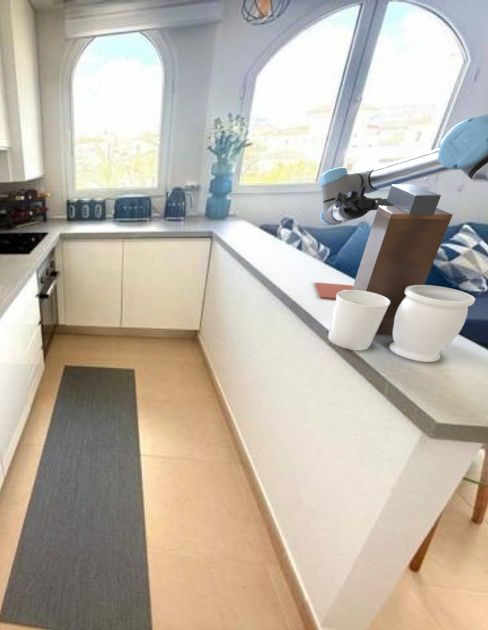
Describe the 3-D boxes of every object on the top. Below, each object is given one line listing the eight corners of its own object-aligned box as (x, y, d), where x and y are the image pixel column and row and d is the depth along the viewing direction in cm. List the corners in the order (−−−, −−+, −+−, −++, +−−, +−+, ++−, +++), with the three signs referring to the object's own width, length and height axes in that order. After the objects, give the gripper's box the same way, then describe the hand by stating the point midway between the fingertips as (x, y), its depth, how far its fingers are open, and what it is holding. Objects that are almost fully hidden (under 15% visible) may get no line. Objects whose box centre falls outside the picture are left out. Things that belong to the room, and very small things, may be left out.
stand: (389, 318, 94) (432, 205, 81) (402, 337, 85) (453, 214, 72) (344, 313, 98) (378, 205, 85) (352, 331, 90) (391, 213, 77)
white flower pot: (382, 353, 80) (400, 306, 75) (334, 350, 82) (348, 305, 77) (361, 333, 88) (375, 290, 83) (317, 331, 91) (329, 289, 86)
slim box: (406, 200, 89) (412, 184, 87) (433, 214, 73) (441, 195, 71) (386, 200, 90) (391, 184, 89) (408, 214, 75) (415, 195, 73)
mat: (351, 287, 115) (351, 285, 114) (360, 302, 104) (360, 300, 104) (315, 284, 119) (315, 282, 119) (320, 298, 109) (321, 296, 108)
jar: (396, 362, 76) (422, 301, 70) (374, 339, 85) (395, 283, 79) (457, 368, 73) (490, 304, 67) (428, 343, 82) (454, 285, 76)
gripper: (392, 223, 113) (442, 211, 92) (307, 216, 119) (336, 203, 99) (398, 200, 112) (450, 182, 91) (312, 194, 118) (343, 176, 97)
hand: (391, 193), depth 95 cm, fingers open, 13 cm apart
